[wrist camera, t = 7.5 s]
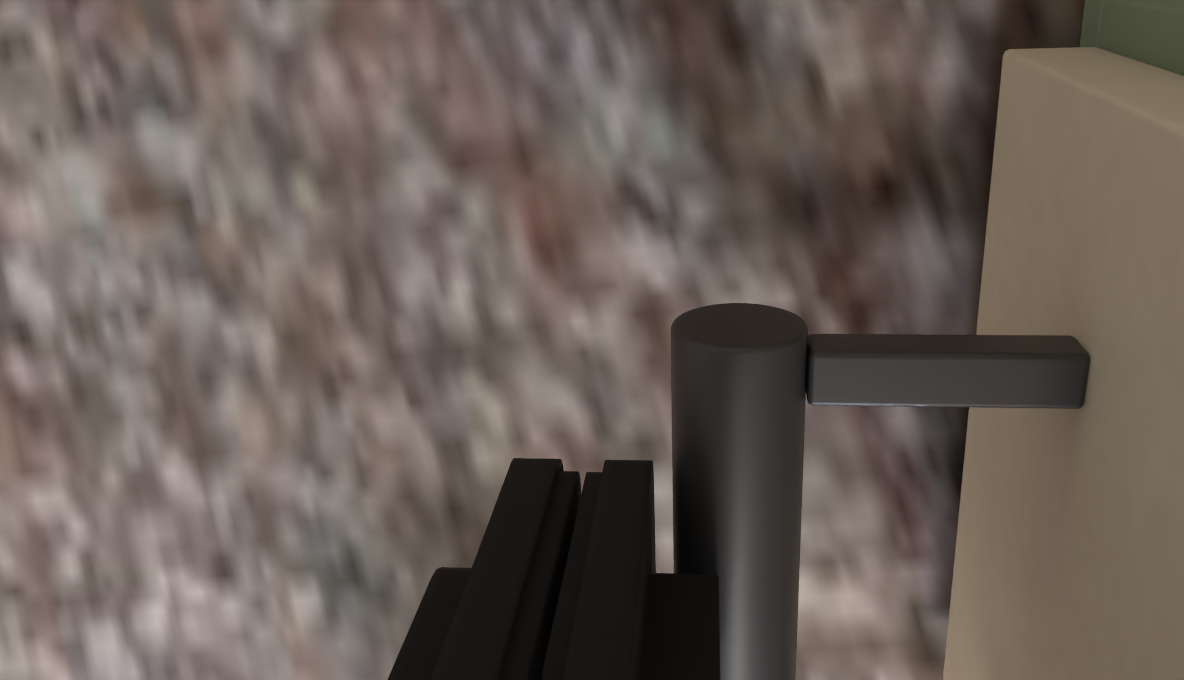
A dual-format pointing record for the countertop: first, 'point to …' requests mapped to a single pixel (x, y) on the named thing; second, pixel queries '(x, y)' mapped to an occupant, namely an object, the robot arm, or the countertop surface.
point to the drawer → (987, 402)
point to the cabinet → (1137, 30)
